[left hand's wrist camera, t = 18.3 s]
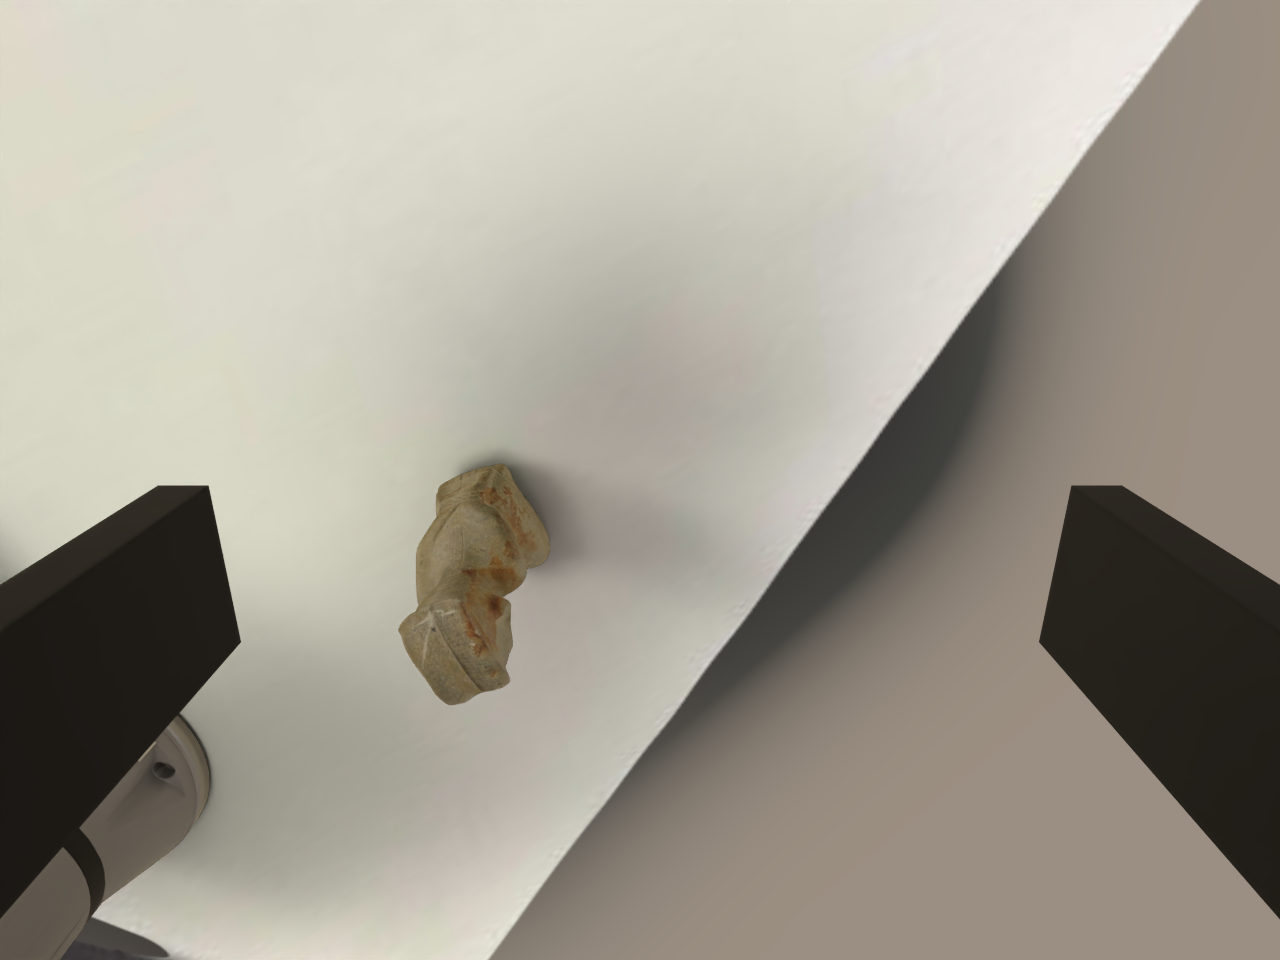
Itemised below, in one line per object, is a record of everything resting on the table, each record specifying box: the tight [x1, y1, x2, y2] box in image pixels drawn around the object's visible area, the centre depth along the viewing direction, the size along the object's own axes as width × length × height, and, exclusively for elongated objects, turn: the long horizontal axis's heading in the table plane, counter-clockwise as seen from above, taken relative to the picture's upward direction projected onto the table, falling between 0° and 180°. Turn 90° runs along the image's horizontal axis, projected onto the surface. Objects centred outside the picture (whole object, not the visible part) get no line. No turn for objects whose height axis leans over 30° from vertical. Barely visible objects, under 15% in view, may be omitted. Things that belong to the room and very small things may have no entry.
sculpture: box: [399, 464, 550, 705], centre depth 40 cm, size 6×7×15 cm
